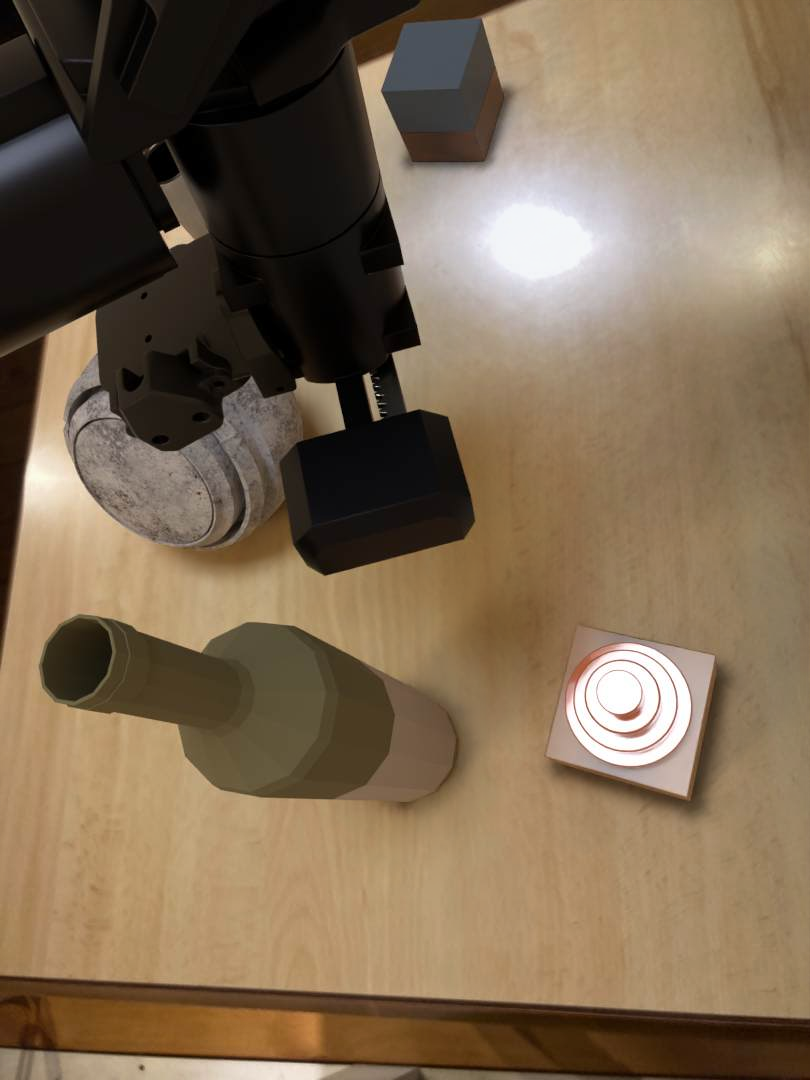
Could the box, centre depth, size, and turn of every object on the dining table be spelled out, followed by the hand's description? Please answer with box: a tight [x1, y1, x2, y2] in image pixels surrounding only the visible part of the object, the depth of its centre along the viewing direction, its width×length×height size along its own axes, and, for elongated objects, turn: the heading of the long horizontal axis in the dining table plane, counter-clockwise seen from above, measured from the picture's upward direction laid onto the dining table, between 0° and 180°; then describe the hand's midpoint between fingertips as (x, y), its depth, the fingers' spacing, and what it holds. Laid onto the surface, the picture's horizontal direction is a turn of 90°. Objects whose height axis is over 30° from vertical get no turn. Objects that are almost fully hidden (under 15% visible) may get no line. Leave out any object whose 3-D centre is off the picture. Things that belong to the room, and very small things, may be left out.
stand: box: [544, 624, 717, 802], centre depth 44 cm, size 7×7×6 cm
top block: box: [380, 17, 496, 133], centre depth 60 cm, size 6×6×4 cm
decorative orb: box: [62, 352, 304, 552], centre depth 54 cm, size 15×14×15 cm
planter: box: [143, 140, 209, 241], centre depth 64 cm, size 4×4×10 cm
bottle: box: [38, 613, 458, 803], centre depth 37 cm, size 7×7×30 cm
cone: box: [565, 642, 693, 769], centre depth 39 cm, size 6×6×5 cm
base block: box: [399, 65, 505, 162], centre depth 63 cm, size 6×6×3 cm
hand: (378, 445), depth 40 cm, fingers open, 9 cm apart
